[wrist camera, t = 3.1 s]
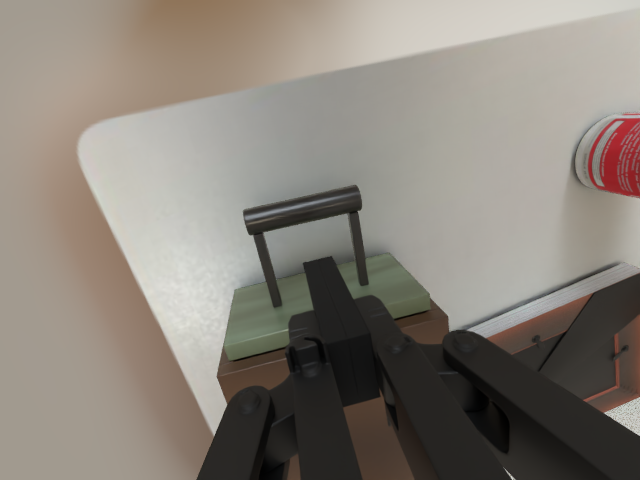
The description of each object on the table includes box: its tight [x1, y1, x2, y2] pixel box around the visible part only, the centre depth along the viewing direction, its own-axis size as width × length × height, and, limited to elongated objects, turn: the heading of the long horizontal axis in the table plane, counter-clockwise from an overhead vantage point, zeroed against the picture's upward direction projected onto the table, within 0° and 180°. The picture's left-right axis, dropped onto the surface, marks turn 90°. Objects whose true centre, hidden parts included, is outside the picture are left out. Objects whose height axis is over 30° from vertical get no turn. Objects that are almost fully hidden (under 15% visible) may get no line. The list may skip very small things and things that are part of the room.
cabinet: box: [217, 298, 449, 480], centre depth 25 cm, size 16×14×9 cm
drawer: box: [224, 185, 431, 361], centre depth 23 cm, size 21×13×7 cm, turn 11°
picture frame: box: [467, 263, 640, 413], centre depth 33 cm, size 16×2×22 cm
